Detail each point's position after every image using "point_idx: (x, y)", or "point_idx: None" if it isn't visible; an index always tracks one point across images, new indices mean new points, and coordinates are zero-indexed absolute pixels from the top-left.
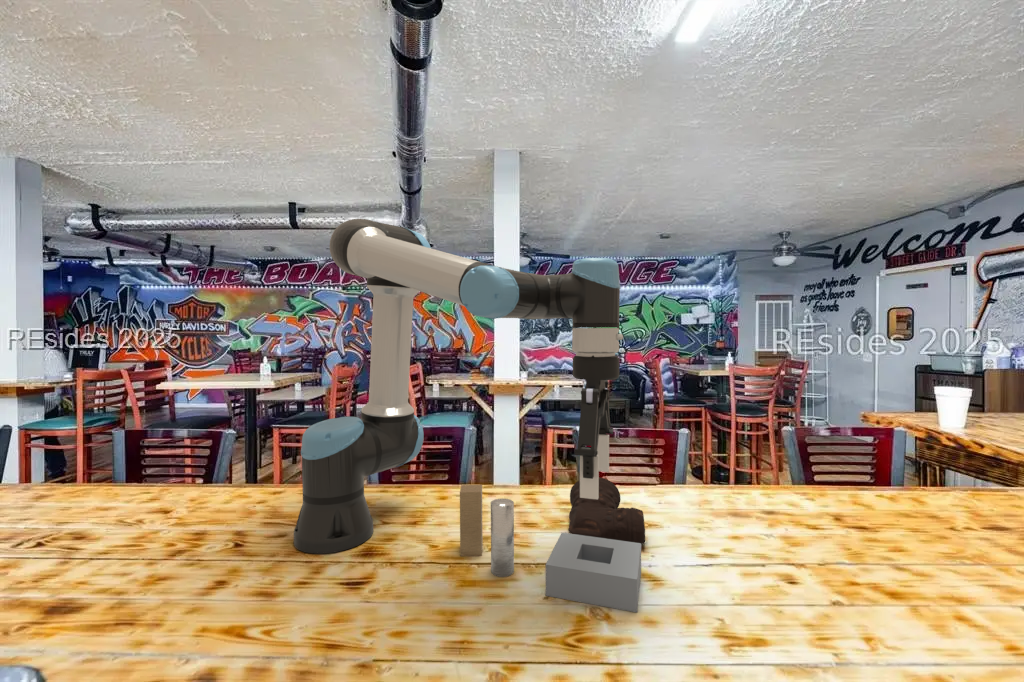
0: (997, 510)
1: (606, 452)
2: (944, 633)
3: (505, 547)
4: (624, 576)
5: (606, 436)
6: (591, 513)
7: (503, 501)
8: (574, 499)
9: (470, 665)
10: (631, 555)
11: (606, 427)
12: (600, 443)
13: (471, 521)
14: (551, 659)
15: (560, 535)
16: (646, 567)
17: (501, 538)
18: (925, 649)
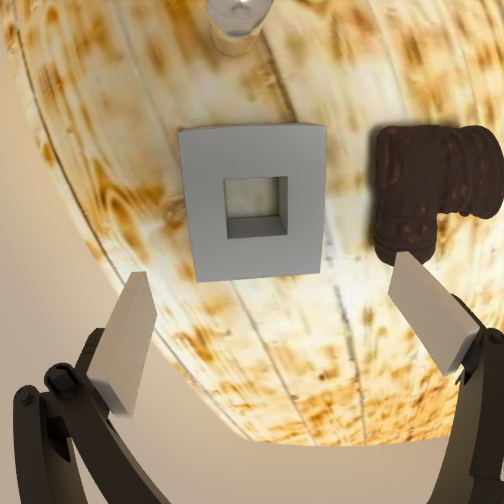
0: (430, 435)
1: (418, 327)
2: (272, 428)
3: (215, 36)
4: (197, 265)
5: (445, 368)
6: (418, 174)
7: None
8: (462, 137)
9: (35, 113)
10: (270, 265)
11: (459, 397)
12: (440, 331)
13: None
14: (74, 186)
15: (311, 126)
16: (322, 254)
17: (210, 24)
18: (248, 422)
